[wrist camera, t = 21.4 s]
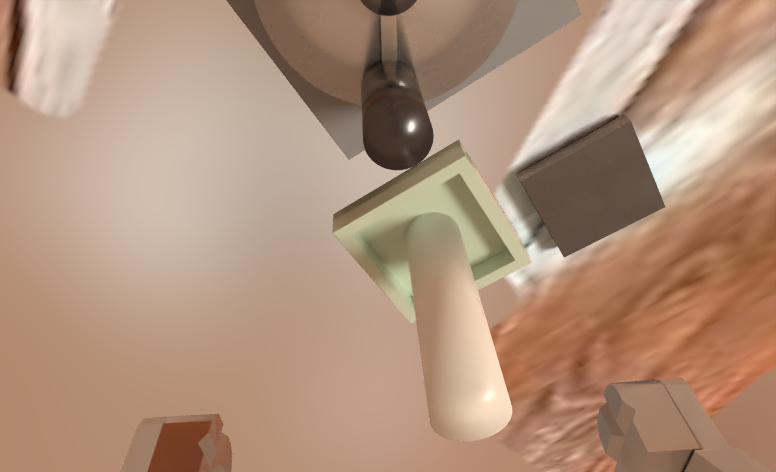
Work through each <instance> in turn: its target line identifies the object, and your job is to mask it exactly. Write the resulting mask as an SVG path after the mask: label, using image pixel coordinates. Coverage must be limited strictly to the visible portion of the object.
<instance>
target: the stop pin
mask: <svg viewBox="0 0 776 472" xmlns="http://www.w3.org/2000/svg"><path fill="white" fill-rule="evenodd" d="M405 243H406V250H407V257H408V265H409V272H410V279H411V287H412V294H413V301H414V308H415V316H416V322H417V330H418V337H419V345H420V352H421V359H422V366H423V374H424V381H425V388H426V396H427V402H428V410H429V417H430V423H431V426H432V428H433V429H434V431H435V432H436V433H438V434H439V435H441V436H442V437H444V438H447V439H450V440H454V441H463V442H466V441H476V440H481V439H484V438H487V437H490V436H492V435H494V434H496V433H497V432H499V431H500V430H502V429H503V428H504V427H505V426H506V425H507V424H508V422H509V421H510V419H511V416H512V406H511V402H510V399H509V395H508V392H507V389H506V385H505V382H504V378H503V375H502V372H501V368H500V365H499V361H498V358H497V355H496V351H495V348H494V344H493V341H492V338H491V334H490V331H489V327H488V324H487V321H486V317H485V314H484V310H483V307H482V304H481V300H480V297H479V293H478V290H477V287H476V283H475V280H474V276H473V273H472V270H471V266H470V263H469V259H468V256H467V253H466V249H465V246H464V242H463V239H462V236H461V232H460V229H459V226H458V224H457V222H456V221H455V220H454V219H453V218H452V217H450V216H448V215H446V214H443V213H438V212H431V213H426V214H423V215H420V216H418V217H417V218H415V219H414V220H413V221H412V222H411V223H410V224H409V226H408V227H407V229H406V232H405Z"/></svg>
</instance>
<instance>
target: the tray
mask: <svg viewBox="0 0 776 472" xmlns="http://www.w3.org/2000/svg"><path fill="white" fill-rule="evenodd" d="M431 212H438V213H443V214H446V215H448V216H450V217H452V218H453V219H454V220H455V221H456V222H457V224H458V226H459V229H460V232H461V236H462V239H463V242H464V246H465V249H466V253H467V256H468V259H469V263H470V266H471V270H472V273H473V276H474V280H475V283H476V287H477V290H479V289H481V288H483V287H485V286H487V285H489V284H491V283H493V282H495V281H497V280H499V279H500V278H503V277H505V276H507V275H509V274H511V273H513V272H515V271H517V270H518V269H520V268H522V267H524V266H526V265H528V264H530V263H532V262H531V260H530V258H529V255H528V253H527V251H526V249H525V247H524V245H523V243H522V241H521V239H520V238H519V236H518V235H517V233H516V231H515V230H514V228H513V226H512V225H511V223H510V222H509V220H508V218H507V217H506V215H505V213H504V212H503V210H502V209H501V207H500V205H499V204H498V202H497V201H496V199H495V197H494V196H493V194H492V192H491V191H490V189H489V188H488V186H487V184H486V183H485V181H484V180H483V178H482V176H481V175H480V173H479V171H478V170H477V168H476V167H475V165H474V163H473V162H472V160H471V159H470V157H469V155H468V154H467V152H466V151H465V149H464V147H463V146H462V144H461V142H460V141H459V140H458V141H456V142H454V143H453V144H451V145H449V146H448V147H446V148H444V149H442V150H441V151H439V152H437V153H436V154H434V155H432V156H431V157H429V158H427V159H426V160H424V161H422V162H421V163H419V164H417V165H416V166H414V167H412V168H410V169H409V170H407V171H405V172H404V173H402V174H400V175H399V176H397V177H395V178H394V179H392V180H390V181H389V182H387V183H386V184H384V185H382V186H380V187H379V188H377V189H375V190H374V191H372V192H370V193H369V194H367V195H365V196H363V197H362V198H360V199H358V200H357V201H355V202H354V203H352V204H350V205H348V206H347V207H345V208H344V209H342V210H340V211H339V212H337V213H335V214H334V217H333V218H334V219H333V234H334V235H335V237H336V238H337V239H338V240H339V241H340V242H341V244H343V246H344V247H345V248H346V249H347V250H348V252H349V253H350V254H351V255H352V256H353V257H354V258H355V260H356V261H357V262H358V263H359V264H360V265H361V267H362V268H363V269H364V270H365V271H366V272H367V273H368V275H369V276H370V277H371V278H372V279H373V281H374V282H375V283H376V284H377V285H378V286H379V287H380V289H381V290H382V291H383V292H384V293H385V294H386V295H387V297H388V298H389V299H390V300H391V301H392V302H393V304H394V305H395V306H396V307H397V308H398V309H399V311H400V312H401V313H402V314H403V315H404V316H405V317H406V318H407V320H408V321H409V322H410V323H414V322H415V321H416V316H415V308H414V301H413V294H412V287H411V279H410V272H409V265H408V257H407V250H406V243H405V232H406V229H407V227H408V226H409V224H410V223H411V222H412V221H413V220H414V219H415V218H417V217H418V216H420V215H423V214H426V213H431Z"/></svg>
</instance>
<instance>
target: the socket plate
mask: <svg viewBox="0 0 776 472" xmlns="http://www.w3.org/2000/svg"><path fill="white" fill-rule="evenodd" d="M517 176H518V178H519V180H520V181H521V183H522V185H523V187H524V188H525V190H526V192H527V194H528V195H529V197H530V199H531V201H532V202H533V204H534V206H535V208H536V209H537V211H538V213H539V215H540V216H541V218H542V220H543V222H544V223H545V225H546V227H547V229H548V230H549V232H550V234H551V236H552V237H553V239H554V241H555V243H556V244H557V246H558V248H559V250H560V251H561V253H562V255H563V257H566V256H568V255H570V254H572V253H574V252H576V251H578V250H580V249H582V248H584V247H586V246H588V245H590V244H592V243H594V242H596V241H598V240H600V239H602V238H604V237H606V236H608V235H610V234H612V233H614V232H616V231H618V230H620V229H622V228H624V227H626V226H628V225H630V224H632V223H634V222H636V221H638V220H640V219H642V218H644V217H646V216H648V215H650V214H652V213H654V212H656V211H658V210H660V209H662V208H664V207H665V205H664V202H663V200H662V197H661V195H660V192H659V190H658V187H657V185H656V182H655V180H654V177H653V175H652V172H651V170H650V168H649V165H648V163H647V160H646V158H645V155H644V153H643V150H642V148H641V145H640V143H639V140H638V138H637V135H636V133H635V130H634V128H633V125H632V123H631V121H630V120H629V119H628V118H627V117H626V116H625V115H622V116H620V117H618V118H616V119H615V120H613V121H611V122H609V123H607V124H606V125H604V126H602V127H600V128H598V129H597V130H595V131H593V132H591V133H590V134H588V135H586V136H584V137H582V138H581V139H579V140H577V141H575V142H573V143H572V144H570V145H568V146H566V147H564V148H563V149H561V150H559V151H557V152H555V153H554V154H552V155H550V156H548V157H547V158H545V159H543V160H541V161H539V162H538V163H536V164H534V165H532V166H530V167H529V168H527V169H525V170H523V171H521V172H520V173H518V174H517Z"/></svg>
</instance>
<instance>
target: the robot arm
mask: <svg viewBox="0 0 776 472" xmlns="http://www.w3.org/2000/svg"><path fill="white" fill-rule="evenodd" d="M604 397H605V399H606V401H607V403H605V404H604V405H603V406H602V407H601V408H600V409H599V413H598V418H597V421H598V432H599V436H600V440H601V443H602V445H603V448H604V450H605V453H606V454H608V455H609V456H610V457H611V458H613V459H614V460H615V461H616V462H617V464H616V468H615V471H614V472H772V471H770V470H769V469H768V468H766V467H765V466H763V465H762V464H760V463H759V462H757V461H756V460H754V459H753V458H751V457H750V456H749V455H747V454H746V453H744V452H743V451H741V450H739V449H738V448H737V447H728V445H727V443H726V442H725V440H724V439H723V437H722V436H721V434H720V433H719V431H718V429H717V428H716V426H715V425H714V423H713V422H712V420H711V418H710V417H709V415H708V414H707V412H706V411H705V409H704V408H703V406H702V404H701V403H700V401H699V400H698V398H697V397H696V395H695V394H694V392H693V390H692V389H691V387H690V386H689V384H688V383H687V382H686V381H685V380H684V379H682V378H675V379H664V380H644V381H633V382H622V383H611V384H609V385H608V386H607V387H606V389H605V392H604ZM222 427H223V422H222V420H221V417H220V415H219V414H209V415H191V416H173V417H156V418H144V419H143V420H142V421H141V423H140V424H139V425H138V427H137V429H136V432H135V435H134V437H133V440H132V443H131V445H130V448H129V451H128V453H127V456H126V459H125V461H124V465H123V467H122V470H121V472H231V468H232V450H231V443H230V441H229V438H228V436H227V435H225V434H223V433H222V432H221V431H222Z"/></svg>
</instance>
